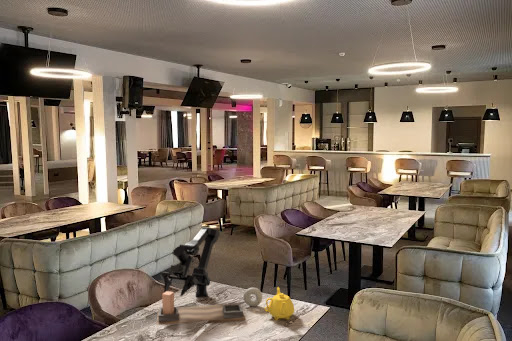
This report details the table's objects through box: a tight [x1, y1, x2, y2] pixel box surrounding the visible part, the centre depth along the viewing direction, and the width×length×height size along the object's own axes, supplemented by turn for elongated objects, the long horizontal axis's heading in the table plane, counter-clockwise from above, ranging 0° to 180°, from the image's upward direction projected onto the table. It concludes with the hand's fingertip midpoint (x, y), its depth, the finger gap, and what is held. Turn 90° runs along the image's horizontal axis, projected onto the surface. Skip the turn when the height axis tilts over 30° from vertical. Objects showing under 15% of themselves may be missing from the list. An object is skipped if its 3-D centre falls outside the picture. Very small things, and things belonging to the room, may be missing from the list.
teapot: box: [264, 286, 295, 321], centre depth 204 cm, size 20×15×12 cm
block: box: [161, 290, 175, 315], centre depth 199 cm, size 4×4×12 cm
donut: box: [242, 287, 263, 307], centre depth 216 cm, size 10×4×10 cm, turn 89°
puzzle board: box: [155, 303, 246, 326], centre depth 204 cm, size 17×42×4 cm, turn 100°
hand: (172, 294), depth 203 cm, fingers open, 9 cm apart
